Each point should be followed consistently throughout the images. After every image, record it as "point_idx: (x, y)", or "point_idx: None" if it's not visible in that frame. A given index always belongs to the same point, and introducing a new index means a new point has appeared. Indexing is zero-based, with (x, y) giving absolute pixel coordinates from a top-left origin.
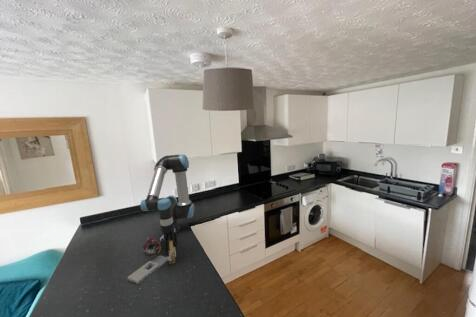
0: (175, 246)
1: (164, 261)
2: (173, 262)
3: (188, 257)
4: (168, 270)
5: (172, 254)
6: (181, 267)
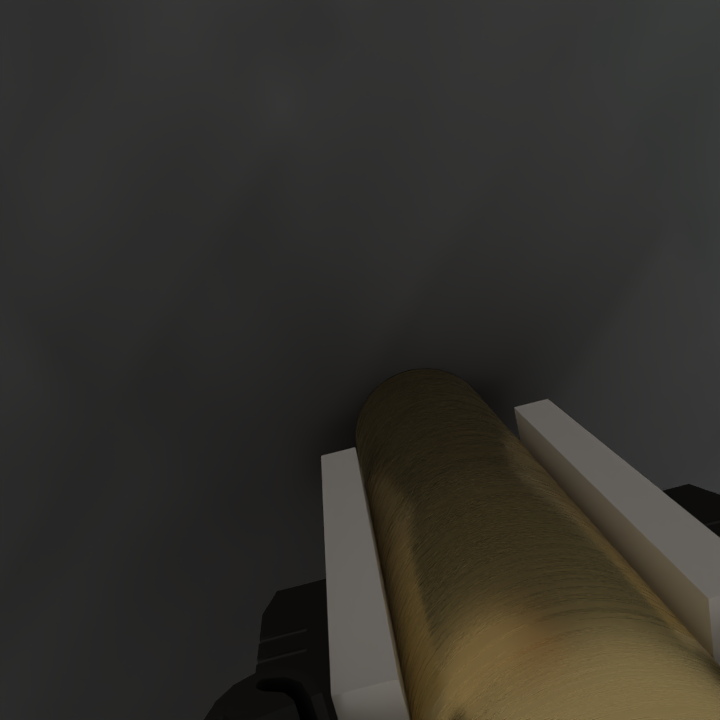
0: (319, 692)
1: None
2: (442, 377)
3: (54, 260)
4: (643, 257)
5: (509, 471)
6: (410, 61)
